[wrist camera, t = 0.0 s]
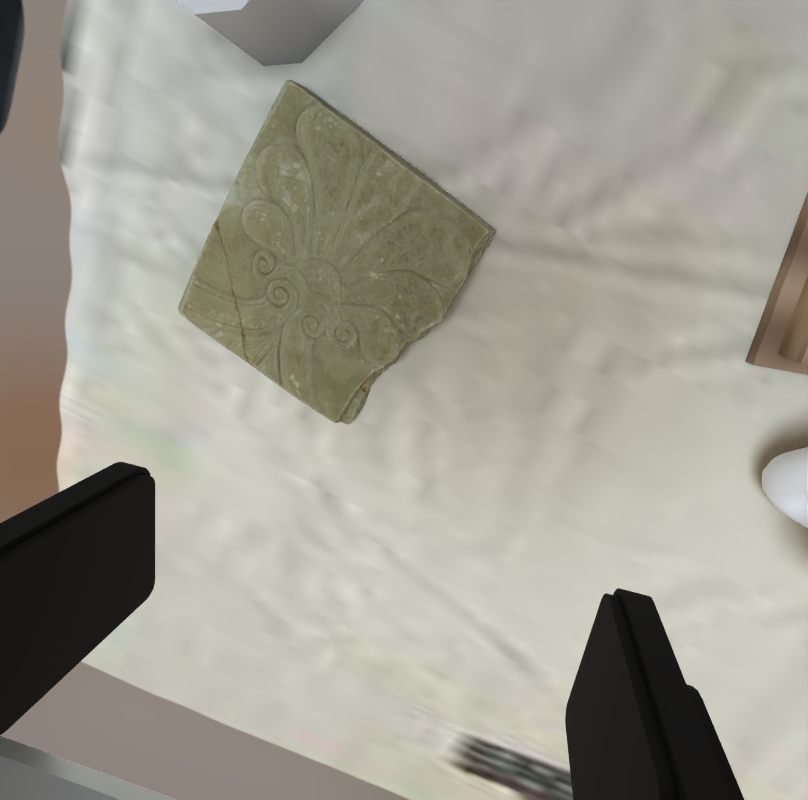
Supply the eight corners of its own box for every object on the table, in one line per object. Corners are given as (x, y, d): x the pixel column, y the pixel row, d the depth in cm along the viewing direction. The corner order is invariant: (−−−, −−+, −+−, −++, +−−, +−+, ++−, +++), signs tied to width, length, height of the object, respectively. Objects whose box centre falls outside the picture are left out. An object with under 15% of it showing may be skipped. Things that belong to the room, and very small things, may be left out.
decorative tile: (191, 307, 44) (164, 311, 41) (302, 84, 38) (281, 68, 34) (363, 433, 44) (350, 448, 41) (506, 233, 37) (505, 231, 34)
